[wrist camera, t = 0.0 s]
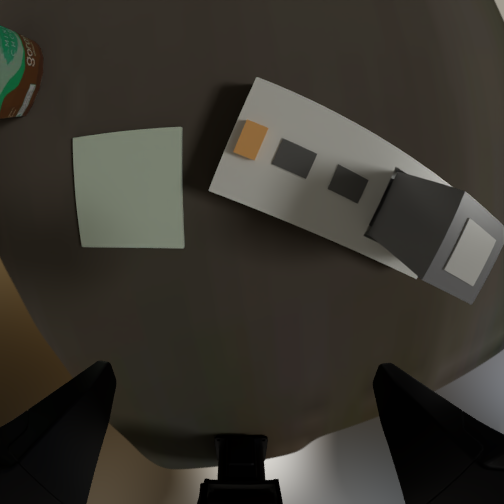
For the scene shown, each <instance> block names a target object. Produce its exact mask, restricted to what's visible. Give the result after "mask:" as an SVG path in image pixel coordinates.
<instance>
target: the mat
mask: <svg viewBox="0 0 504 504" xmlns="http://www.w3.org/2000/svg"><path fill="white" fill-rule="evenodd" d="M73 165H74V182H75V195H76V205H77V215H78V223H79V231H80V238H81V244H82V247H122V248H184V247H185V246H184V224H183V190H182V127H169V128H154V129H141V130H131V131H121V132H113V133H105V134H97V135H90V136H84V137H77V138H73Z"/></svg>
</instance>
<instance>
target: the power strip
mask: <svg viewBox="0 0 504 504" xmlns="http://www.w3.org/2000/svg"><path fill="white" fill-rule="evenodd" d="M397 172H401V173H405V174H409V175H413V176H416V177H420V178H423V179H427V180H430V181H434V182H437V183H441V184H444V185H447V186H450V185H449V184H448V183H447V182H445V181H444V180H443V179H441V178H440V177H439V176H437V175H436V174H434V173H433V172H432V171H430V170H429V169H428V168H426V167H425V166H423V165H422V164H420V163H419V162H418V161H416V160H415V159H413V158H412V157H410V156H409V155H407V154H406V153H404V152H403V151H401V150H400V149H398V148H397V147H395V146H393V145H392V144H390V143H389V142H387V141H385V140H384V139H382V138H380V137H379V136H377V135H375V134H374V133H372V132H370V131H369V130H367V129H365V128H363V127H362V126H360V125H358V124H356V123H355V122H353V121H351V120H349V119H347V118H345V117H343V116H342V115H340V114H338V113H336V112H334V111H332V110H330V109H328V108H326V107H324V106H322V105H320V104H318V103H316V102H314V101H312V100H310V99H307V98H305V97H303V96H301V95H299V94H297V93H294V92H292V91H290V90H287V89H285V88H283V87H280V86H278V85H276V84H273V83H271V82H268V81H266V80H263V79H261V78H258V77H256V80H255V82H254V84H253V86H252V88H251V90H250V93H249V95H248V97H247V99H246V101H245V104H244V106H243V108H242V111H241V113H240V115H239V117H238V120H237V122H236V124H235V127H234V129H233V131H232V134H231V136H230V138H229V141H228V143H227V146H226V148H225V150H224V153H223V155H222V158H221V160H220V163H219V165H218V168H217V170H216V173H215V175H214V178H213V180H212V183H211V185H210V188H209V191H210V192H213V193H216V194H218V195H221V196H223V197H226V198H229V199H231V200H234V201H236V202H239V203H241V204H244V205H247V206H249V207H252V208H254V209H257V210H259V211H262V212H264V213H267V214H269V215H271V216H274V217H276V218H279V219H281V220H284V221H286V222H289V223H291V224H293V225H296V226H298V227H301V228H303V229H305V230H308V231H310V232H312V233H315V234H317V235H320V236H322V237H324V238H327V239H329V240H331V241H333V242H336V243H338V244H340V245H343V246H345V247H347V248H350V249H352V250H354V251H356V252H359V253H361V254H363V255H365V256H367V257H370V258H372V259H374V260H376V261H379V262H381V263H383V264H385V265H387V266H389V267H392V268H394V269H396V270H398V271H400V272H402V273H405V274H407V275H409V276H411V277H413V278H415V279H417V277H418V276H417V275H416V274H415V273H414V272H412V271H411V270H410V269H409V268H408V267H407V266H406V265H404V264H403V263H402V262H401V261H400V260H399V259H397V258H396V257H395V256H394V255H393V254H392V253H390V252H389V251H388V250H387V249H386V248H384V247H383V246H382V245H381V244H380V243H378V242H377V241H376V240H375V239H374V238H372V237H371V236H370V235H369V234H368V233H369V231H370V229H371V226H370V225H369V224H370V222H371V219H372V217H373V215H374V213H375V211H376V209H377V207H378V205H379V203H380V201H381V199H382V196H383V194H384V192H385V190H386V188H387V185H388V183H389V181H390V179H391V178H392V179H394V178H395V176H396V174H397ZM450 187H452V186H450Z"/></svg>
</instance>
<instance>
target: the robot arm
mask: <svg viewBox="0 0 504 504" xmlns="http://www.w3.org/2000/svg"><path fill="white" fill-rule="evenodd" d="M115 389H116V378H115V375H114V372H113V369H112V366H111V364H110V363H109V362H105V361H97V362H96V363H94V364H93V365H92V366H90V367H89V368H87V369H86V370H84V371H83V372H82V373H80V374H79V375H77V376H76V377H74V378H73V379H72V380H70V381H69V382H68V383H66V384H64V385H63V386H61V387H60V388H59V389H57V390H56V391H54V392H53V393H51V394H50V395H49V396H47V397H46V398H44V399H43V400H41V401H40V402H39V403H37V404H36V405H34V406H33V407H31V408H30V409H29V410H28V411H25V412H24V413H23V414H21V415H20V416H18V417H17V418H15V419H14V420H12V421H11V422H9V423H7V424H5V425H4V426H2V427H0V504H86V503H87V499H88V495H89V490H90V487H91V483H92V479H93V475H94V471H95V468H96V464H97V461H98V457H99V453H100V450H101V446H102V443H103V439H104V436H105V433H106V430H107V427H108V423H109V419H110V414H111V409H112V404H113V399H114V394H115ZM373 389H374V394H375V398H376V403H377V407H378V412H379V417H380V421H381V424H382V428H383V431H384V434H385V437H386V440H387V443H388V446H389V449H390V452H391V456H392V459H393V462H394V465H395V469H396V472H397V475H398V479H399V482H400V486H401V489H402V492H403V496H404V500H405V504H504V434H502V433H500V432H498V431H496V430H494V429H492V428H490V427H488V426H487V425H485V424H483V423H481V422H480V421H478V420H476V419H475V418H473V417H472V416H470V415H468V414H467V413H465V412H464V411H462V410H461V409H459V408H458V407H456V406H455V405H453V404H452V403H450V402H449V401H447V400H446V399H444V398H443V397H441V396H440V395H438V394H437V393H435V392H434V391H432V390H431V389H429V388H428V387H426V386H425V385H423V384H422V383H420V382H419V381H417V380H416V379H414V378H413V377H412V376H410V375H409V374H407V373H406V372H404V371H403V370H401V369H400V368H398V367H397V366H395V365H394V364H392V363H384V364H380V365H379V367H378V369H377V372H376V375H375V377H374V380H373ZM267 442H268V438H267V436H215V447H216V455H217V460H218V480H209V479H205V480H204V483H201V484H200V494H199V499H198V502H197V504H283V503H282V497H281V491H280V486H279V480H278V479H274V480H265V469H264V460H265V456H266V449H267Z"/></svg>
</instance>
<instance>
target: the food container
mask: <svg viewBox="0 0 504 504" xmlns="http://www.w3.org/2000/svg"><path fill="white" fill-rule="evenodd" d="M43 61H44V58H43V54H42V50H41V48H40V46H39V45H38V44H37V43H36V42H35V41H33V40H30V39H28V38H26V37H24V36H22V35H20V34H18V33H16V32H14V31H12V30H10V29H7V28H5V27H3V26H1V25H0V119H2V118H10V117H19V116H26V115H27V114H28V112H29V110H30V109H31V107H32V105H33V103H34V101H35V98H36V96H37V93H38V91H39V89H40V84H41V80H42V76H43Z"/></svg>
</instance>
